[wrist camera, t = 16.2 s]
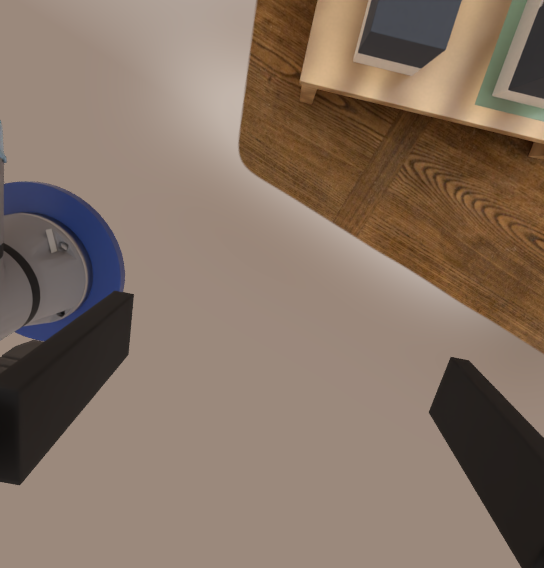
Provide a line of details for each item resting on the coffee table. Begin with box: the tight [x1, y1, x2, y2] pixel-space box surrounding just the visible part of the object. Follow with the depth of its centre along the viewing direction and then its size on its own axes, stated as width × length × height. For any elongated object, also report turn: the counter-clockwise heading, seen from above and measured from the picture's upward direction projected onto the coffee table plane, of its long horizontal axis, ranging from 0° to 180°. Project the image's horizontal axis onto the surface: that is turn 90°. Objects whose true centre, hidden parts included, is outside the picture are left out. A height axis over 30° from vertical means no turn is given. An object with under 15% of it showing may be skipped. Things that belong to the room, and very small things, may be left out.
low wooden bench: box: [299, 0, 544, 160], centre depth 36 cm, size 30×18×10 cm, turn 77°
